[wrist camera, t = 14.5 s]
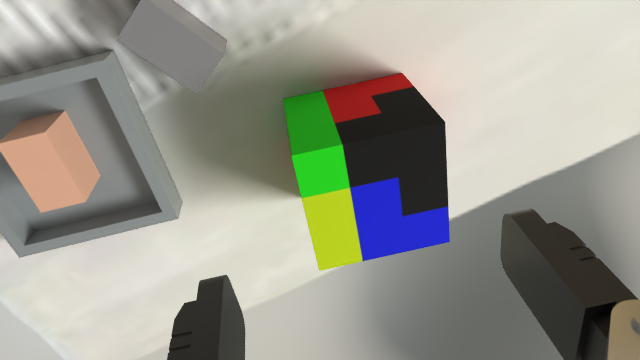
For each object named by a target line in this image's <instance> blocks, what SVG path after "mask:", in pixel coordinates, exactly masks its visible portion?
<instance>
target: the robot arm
mask: <svg viewBox="0 0 640 360" xmlns="http://www.w3.org/2000/svg"><path fill="white" fill-rule="evenodd" d="M501 261H502V265H503V268H504V270H505V272H506V274H507V276H508V277H509V279H510V280H511V282H512V283H513V285H514V286H515V288H516V289H517V291H518V292H519V294H520V295H521V297H522V298H523V299H524V301H525V303H526V304H527V306H528V307H529V308H530V310H531V311H532V313H533V314H534V316H535V317H536V319H537V320H538V322H539V323H540V325H541V326H542V328H543V329H544V330H545V332H546V334H547V335H548V336H549V338H550V339H551V341H552V342H553V344H554V345H555V347H556V348H557V350H558V351H559V353H560V354H561V356H562V357H563V359H564V360H640V300H638V298H636V296H634V294H633V293H632V292H631V291H630V290H629V289H628V288H627V287H626V286H625V285H624V284H623V283H622V282H621V281H620V280H619V279H618V278H617V277H616V276H615V275H614V274H613V273H612V272H611V271H610V270H609V269H608V267H607V266H606V265H604V263H603V262H602V261H601V260H600V259H599V258H598V259H597V258H596V255H595V254H594V253H593V252H592V251H591V250H590V249H589V248H587V247H586V245H585V244H584V243H583V241H582V240H581V239H579V237H578V236H577V235H576V234H575V233H574V232H572V231H571V230H569V229H567V228H565V227H563V226H561V225H560V224H558V223H556V222H553V223H549V224H547V223H546V222H545V221H544V220H543V219H542V218H541V217H540V216H539V215H538V213H536V211H534V210H533V209H527V210H522V211H517V212H513V213H508V214H505V215H504V216H503V220H502V236H501ZM244 325H245V324H244V318H243V314H242V311H241V308H240V305H239V303H238V300H237V298H236V295H235V293H234V290H233V288H232V285H231V282H230V280H229V278H228V276H227V275H223V276H219V277H214V278H210V279H205V280H201V281H200V282H199V286H198V293H197V300H196V301H191V302H187V303H184V305H183V306H182V308H181V310H180V311H179V313H178V314H177V316H176V318H175V319H174V325H173V330H172V339H171V341H170V347H169V351H170V352H169V353H168V358H167V360H245V326H244Z"/></svg>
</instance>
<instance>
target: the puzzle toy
mask: <svg viewBox="0 0 640 360" xmlns="http://www.w3.org/2000/svg"><path fill="white" fill-rule="evenodd" d="M283 102H284V109H285V116H286V123H287V130H288V137H289V144H290V151H291V157H292V161H293V165H294V169H295V173H296V177H297V182H298V186H299V190H300V194H301V198H302V202H303V206H304V210H305V214H306V218H307V222H308V227H309V231H310V235H311V239H312V243H313V247H314V251H315V255H316V259H317V263H318V267H319V271H320V270H325V269H329V268H334V267H338V266H343V265H347V264H352V263H356V262H360V261H365V260H369V259H374V258H379V257H383V256H388V255H393V254H396V253H402V252H406V251H411V250H415V249H419V248H424V247H429V246H433V245H438V244H442V243H446V242H449V214H448V188H447V161H446V135H445V122H444V120H443V119H442V118H441V117H440V116H439V115H438V113H437V112H436V111H435V110H434V109H433V108H432V107H431V105H430V104H429V103H428V102H427V101H426V100H425V99H424V97H423V96H422V95H421V94H420V93H419V92H418V91H417V89H416V88H415V87H414V86H413V85H412V84H411V83H410V81H409V80H408V79H407V78H406V77H405V76H404V75H403V73H401V74H396V75H391V76H387V77H382V78H378V79H373V80H368V81H364V82H359V83H355V84H350V85H345V86H341V87H336V88H332V89H327V90H322V91H318V92H313V93H308V94H304V95H299V96H295V97H290V98H285V99H283Z"/></svg>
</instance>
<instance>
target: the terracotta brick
mask: <svg viewBox="0 0 640 360" xmlns="http://www.w3.org/2000/svg"><path fill="white" fill-rule="evenodd" d="M0 152H1V153H2V155H3V156H4V158H5V159H6V161H7V162H8V164H9V165H10V167H11V168H12V170H13V171H14V173H15V174H16V176H17V177H18V179H19V180H20V182H21V183H22V185H23V186H24V188H25V189H26V191H27V192H28V194H29V195H30V197H31V198H32V200H33V201H34V203H35V204H36V206H37V207H38V209H39V210H40V212H41V213H42V212H46V211H50V210H54V209H58V208H63V207H67V206H71V205H75V204H79V203H83V202H86V200H87V199H88V197H89V195H90V193H91V192H92V190H93V188H94V186H95V185H96V183H97V181H98V179H99V178H100V176H101V175H100V173H99V172H98V170H97V168H96V166H95V164H94V162H93V161H92V159H91V157H90V155H89V153H88V151H87V150H86V148H85V146H84V144H83V142H82V140H81V139H80V137H79V135H78V133H77V131H76V129H75V128H74V126H73V124H72V122H71V120H70V118H69V117H68V115H67V113H66V111H61V112H57V113H52V114H48V115H44V116H40V117H36V118H32V119H28V120H24V121H21V122H19V123H18V124H17V125H16V126H15V127H14V128H13V129H12V130H11V131H10V132H9V133H8V134H6V135H5V136H4V137H3V138H2V139H1V140H0Z"/></svg>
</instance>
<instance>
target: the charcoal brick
mask: <svg viewBox="0 0 640 360" xmlns="http://www.w3.org/2000/svg"><path fill="white" fill-rule="evenodd" d="M116 41H118V42H119V43H121V44H122V45H124V46H125V47H127V48H128V49H130V50H131V51H133V52H134V53H136V54H137V55H139V56H140V57H142V58H143V59H145V60H146V61H148V62H149V63H151V64H152V65H154V66H155V67H157V68H158V69H160V70H161V71H163V72H164V73H166V74H167V75H169V76H170V77H172V78H173V79H175V80H176V81H178V82H179V83H181V84H183V85H184V86H186V87H187V88H189V89H190V90H192V91H193V92H195V93H197V92H198V90H199V89H200V87H201V86H202V85H203V83H204V82H205V80H206V79H207V78H208V76H209V75H210V73H211V72H212V71H213V69H214V68H215V66H216V65H217V64H218V62H219V61H220V59H221V58H222V57H223V55H224V53H225V48H226V43H227V40H226V39H225V38H223V37H222V36H221V35H219V34H218V33H217V32H215V31H214V30H213V29H211V28H210V27H209V26H207V25H206V24H205V23H203V22H202V21H200V20H199V19H198V18H196V17H195V16H194V15H192V14H191V13H190V12H188V11H187V10H186V9H184V8H183V7H181V6H180V5H179V4H177V3H176V2H175V1H173V0H140V2H139V3H138V5H137V7H136V8H135V10H134V12H133V13H132V15H131V17H130V18H129V20H128V21H127V23H126V25H125V26H124V28H123V30H122V31H121V33H120V35H119V36H118V38H117V39H116Z"/></svg>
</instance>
